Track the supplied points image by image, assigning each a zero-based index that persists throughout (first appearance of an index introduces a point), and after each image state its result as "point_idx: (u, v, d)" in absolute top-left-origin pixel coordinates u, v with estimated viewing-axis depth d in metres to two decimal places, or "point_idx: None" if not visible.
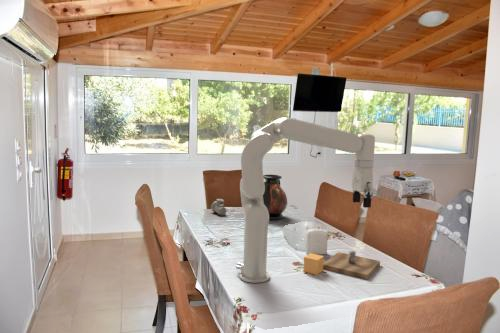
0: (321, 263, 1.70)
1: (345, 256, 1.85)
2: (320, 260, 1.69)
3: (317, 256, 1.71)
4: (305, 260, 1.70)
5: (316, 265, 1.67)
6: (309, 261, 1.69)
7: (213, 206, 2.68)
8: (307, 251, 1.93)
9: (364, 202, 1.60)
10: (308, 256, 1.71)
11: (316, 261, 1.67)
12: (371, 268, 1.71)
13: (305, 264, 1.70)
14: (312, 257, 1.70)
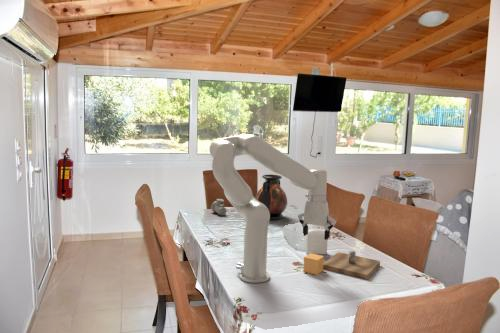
0: (321, 263, 1.70)
1: (345, 256, 1.85)
2: (320, 260, 1.69)
3: (317, 256, 1.71)
4: (305, 260, 1.70)
5: (316, 265, 1.67)
6: (309, 261, 1.69)
7: (213, 206, 2.68)
8: (307, 251, 1.93)
9: (326, 235, 1.66)
10: (308, 256, 1.71)
11: (316, 261, 1.67)
12: (371, 268, 1.71)
13: (305, 264, 1.70)
14: (312, 257, 1.70)
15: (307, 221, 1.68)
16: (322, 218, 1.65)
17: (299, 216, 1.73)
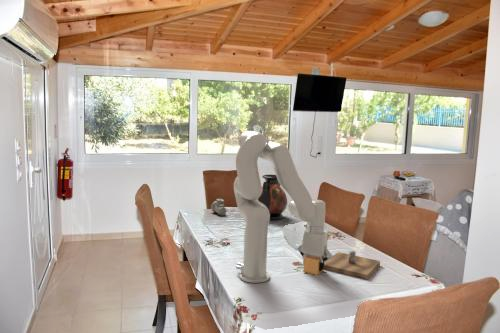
0: None
1: (345, 256, 1.85)
2: None
3: None
4: (305, 260, 1.70)
5: (316, 265, 1.67)
6: (309, 261, 1.69)
7: (213, 206, 2.68)
8: None
9: (320, 266, 1.68)
10: (308, 256, 1.71)
11: (316, 261, 1.67)
12: (371, 268, 1.71)
13: (305, 264, 1.70)
14: (312, 257, 1.70)
15: (305, 251, 1.70)
16: (320, 249, 1.66)
17: (299, 248, 1.74)
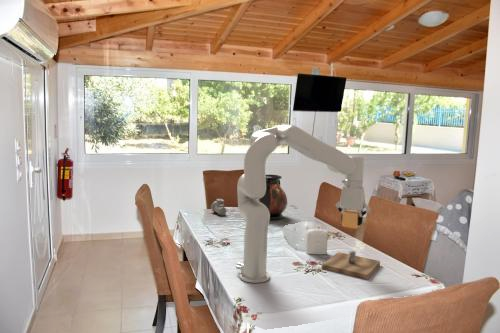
0: None
1: (345, 256, 1.85)
2: None
3: (355, 211, 1.75)
4: (344, 215, 1.73)
5: (355, 219, 1.70)
6: (348, 215, 1.72)
7: (213, 206, 2.68)
8: (307, 251, 1.93)
9: (359, 221, 1.72)
10: (346, 211, 1.74)
11: (355, 215, 1.70)
12: (371, 268, 1.71)
13: (344, 219, 1.73)
14: (351, 212, 1.73)
15: (343, 206, 1.73)
16: (359, 203, 1.69)
17: (336, 204, 1.77)
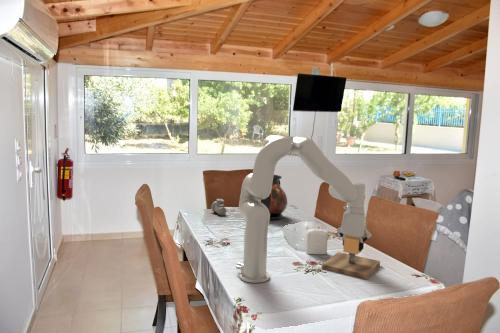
0: None
1: (345, 256, 1.85)
2: None
3: (356, 237, 1.76)
4: (345, 241, 1.75)
5: (356, 245, 1.72)
6: (349, 241, 1.74)
7: (213, 206, 2.68)
8: (307, 251, 1.93)
9: (360, 246, 1.74)
10: (348, 237, 1.76)
11: (356, 241, 1.72)
12: (371, 268, 1.71)
13: (345, 244, 1.75)
14: (352, 237, 1.75)
15: (345, 232, 1.75)
16: (360, 229, 1.71)
17: (338, 229, 1.79)
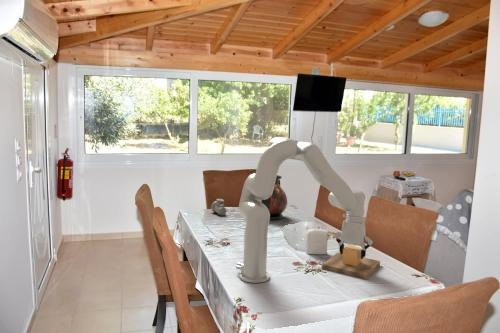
0: (359, 255, 1.76)
1: None
2: (359, 252, 1.75)
3: (355, 248, 1.77)
4: (344, 252, 1.76)
5: (355, 257, 1.73)
6: (348, 253, 1.75)
7: (213, 206, 2.68)
8: (307, 251, 1.93)
9: (362, 254, 1.73)
10: (347, 248, 1.77)
11: (355, 253, 1.73)
12: (371, 268, 1.71)
13: (344, 256, 1.76)
14: (351, 249, 1.76)
15: (344, 240, 1.76)
16: (359, 238, 1.72)
17: (336, 235, 1.80)
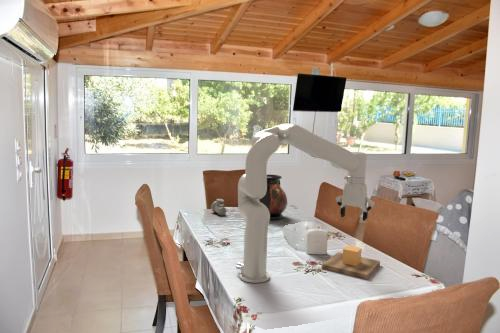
0: (359, 255, 1.76)
1: None
2: (359, 252, 1.75)
3: (355, 248, 1.77)
4: (344, 252, 1.76)
5: (355, 257, 1.73)
6: (348, 253, 1.75)
7: (213, 206, 2.68)
8: (307, 251, 1.93)
9: (364, 216, 1.71)
10: (347, 248, 1.77)
11: (355, 253, 1.73)
12: (371, 268, 1.71)
13: (344, 256, 1.76)
14: (351, 249, 1.76)
15: (346, 202, 1.73)
16: (361, 199, 1.70)
17: (337, 198, 1.78)
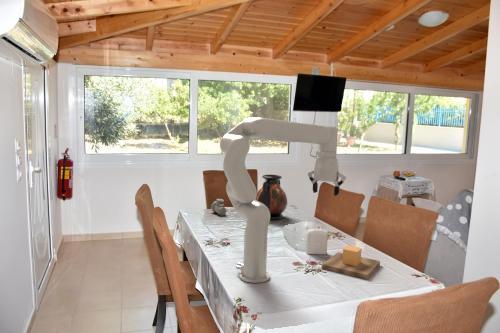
0: (359, 255, 1.76)
1: None
2: (359, 252, 1.75)
3: (355, 248, 1.77)
4: (344, 252, 1.76)
5: (355, 257, 1.73)
6: (348, 253, 1.75)
7: (213, 206, 2.68)
8: (307, 251, 1.93)
9: (335, 190, 1.69)
10: (347, 248, 1.77)
11: (355, 253, 1.73)
12: (371, 268, 1.71)
13: (344, 256, 1.76)
14: (351, 249, 1.76)
15: (317, 177, 1.71)
16: (332, 174, 1.67)
17: (309, 174, 1.76)
